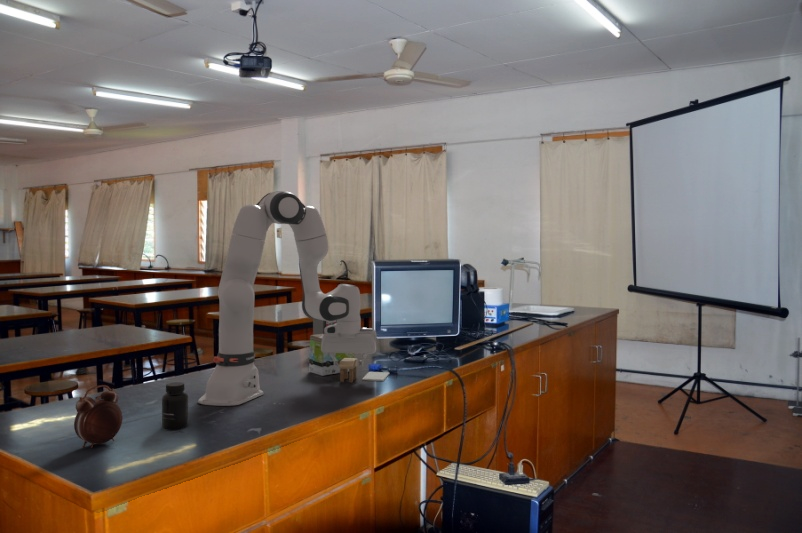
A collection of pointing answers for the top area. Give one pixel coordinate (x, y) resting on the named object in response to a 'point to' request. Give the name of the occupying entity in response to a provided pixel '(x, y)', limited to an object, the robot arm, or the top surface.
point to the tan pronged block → (348, 364)
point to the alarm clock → (98, 417)
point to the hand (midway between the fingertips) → (348, 365)
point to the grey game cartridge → (321, 326)
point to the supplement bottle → (174, 407)
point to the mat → (375, 376)
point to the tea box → (323, 358)
